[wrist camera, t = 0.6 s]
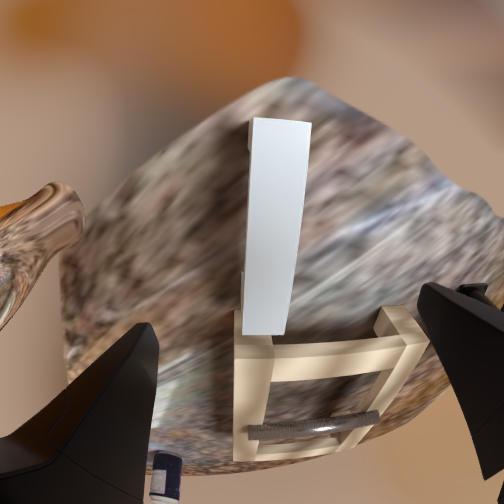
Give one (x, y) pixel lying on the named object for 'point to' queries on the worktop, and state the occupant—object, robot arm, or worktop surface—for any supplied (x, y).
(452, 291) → the robot arm
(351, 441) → the shelf
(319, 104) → the worktop surface
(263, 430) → the rod
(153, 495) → the beverage can
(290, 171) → the long white beam
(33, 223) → the beer glass
